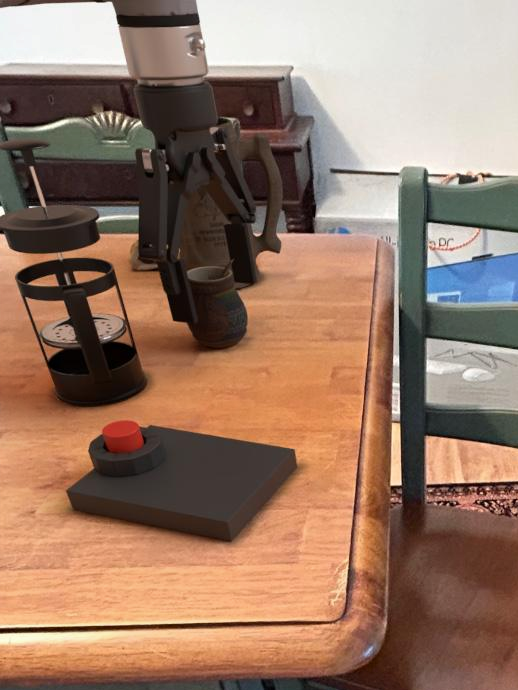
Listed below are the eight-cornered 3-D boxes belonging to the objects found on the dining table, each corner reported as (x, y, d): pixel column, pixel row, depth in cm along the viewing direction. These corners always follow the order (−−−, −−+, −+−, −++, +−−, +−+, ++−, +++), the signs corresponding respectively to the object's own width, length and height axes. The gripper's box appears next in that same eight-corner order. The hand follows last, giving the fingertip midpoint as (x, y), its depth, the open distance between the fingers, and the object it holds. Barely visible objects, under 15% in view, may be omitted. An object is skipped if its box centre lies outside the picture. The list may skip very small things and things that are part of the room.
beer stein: (185, 296, 101) (159, 124, 88) (173, 272, 108) (148, 111, 96) (295, 289, 106) (285, 127, 94) (276, 268, 114) (265, 114, 101)
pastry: (145, 252, 116) (139, 226, 113) (189, 252, 116) (183, 226, 114) (129, 271, 109) (122, 244, 106) (175, 271, 109) (169, 244, 107)
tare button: (100, 452, 63) (94, 433, 62) (121, 435, 65) (116, 417, 64) (130, 457, 62) (124, 438, 61) (151, 440, 64) (146, 422, 63)
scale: (63, 507, 62) (48, 471, 60) (146, 441, 71) (136, 407, 68) (231, 541, 59) (223, 504, 56) (297, 467, 67) (292, 432, 65)
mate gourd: (210, 327, 93) (192, 242, 86) (264, 334, 91) (251, 248, 85) (179, 349, 87) (158, 260, 81) (236, 356, 86) (219, 266, 79)
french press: (49, 376, 81) (-40, 134, 66) (137, 360, 85) (71, 126, 70) (63, 421, 74) (-35, 157, 58) (159, 401, 77) (90, 148, 62)
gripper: (127, 99, 62) (187, 344, 76) (265, 67, 80) (293, 271, 94) (53, 96, 64) (125, 336, 78) (204, 66, 82) (241, 266, 96)
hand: (217, 301), depth 86 cm, fingers open, 13 cm apart
